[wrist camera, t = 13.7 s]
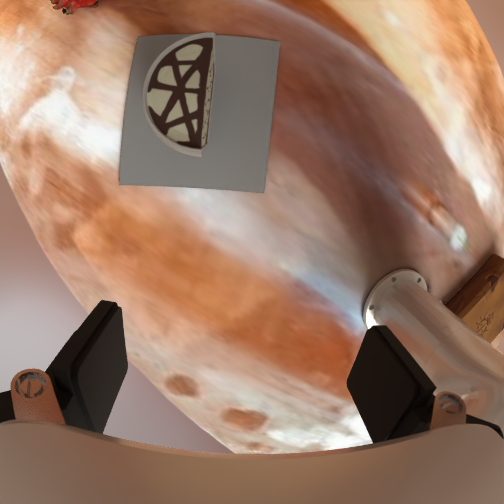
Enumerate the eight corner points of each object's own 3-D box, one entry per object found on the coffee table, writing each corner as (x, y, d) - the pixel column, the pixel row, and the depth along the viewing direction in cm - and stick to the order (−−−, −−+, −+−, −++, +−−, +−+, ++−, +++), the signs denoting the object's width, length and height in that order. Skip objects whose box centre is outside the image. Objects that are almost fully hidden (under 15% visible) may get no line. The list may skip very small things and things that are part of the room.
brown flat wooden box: (490, 252, 43) (509, 261, 37) (497, 307, 49) (512, 317, 43) (418, 326, 45) (435, 342, 40) (435, 370, 51) (448, 385, 46)
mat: (279, 43, 28) (280, 41, 28) (263, 192, 35) (264, 193, 34) (139, 37, 26) (138, 36, 26) (121, 184, 32) (119, 185, 32)
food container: (166, 60, 27) (147, 29, 18) (217, 61, 28) (215, 27, 19) (156, 155, 31) (130, 156, 22) (206, 157, 32) (200, 157, 23)
